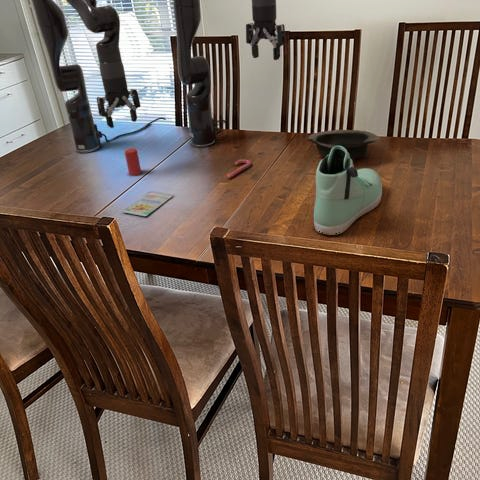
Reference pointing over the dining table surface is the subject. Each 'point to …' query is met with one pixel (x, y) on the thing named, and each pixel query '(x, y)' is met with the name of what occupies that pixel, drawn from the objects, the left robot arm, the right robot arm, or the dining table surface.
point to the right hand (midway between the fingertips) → (266, 58)
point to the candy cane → (240, 167)
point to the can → (133, 161)
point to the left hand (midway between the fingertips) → (123, 124)
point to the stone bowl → (343, 141)
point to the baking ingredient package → (147, 204)
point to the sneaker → (343, 192)
